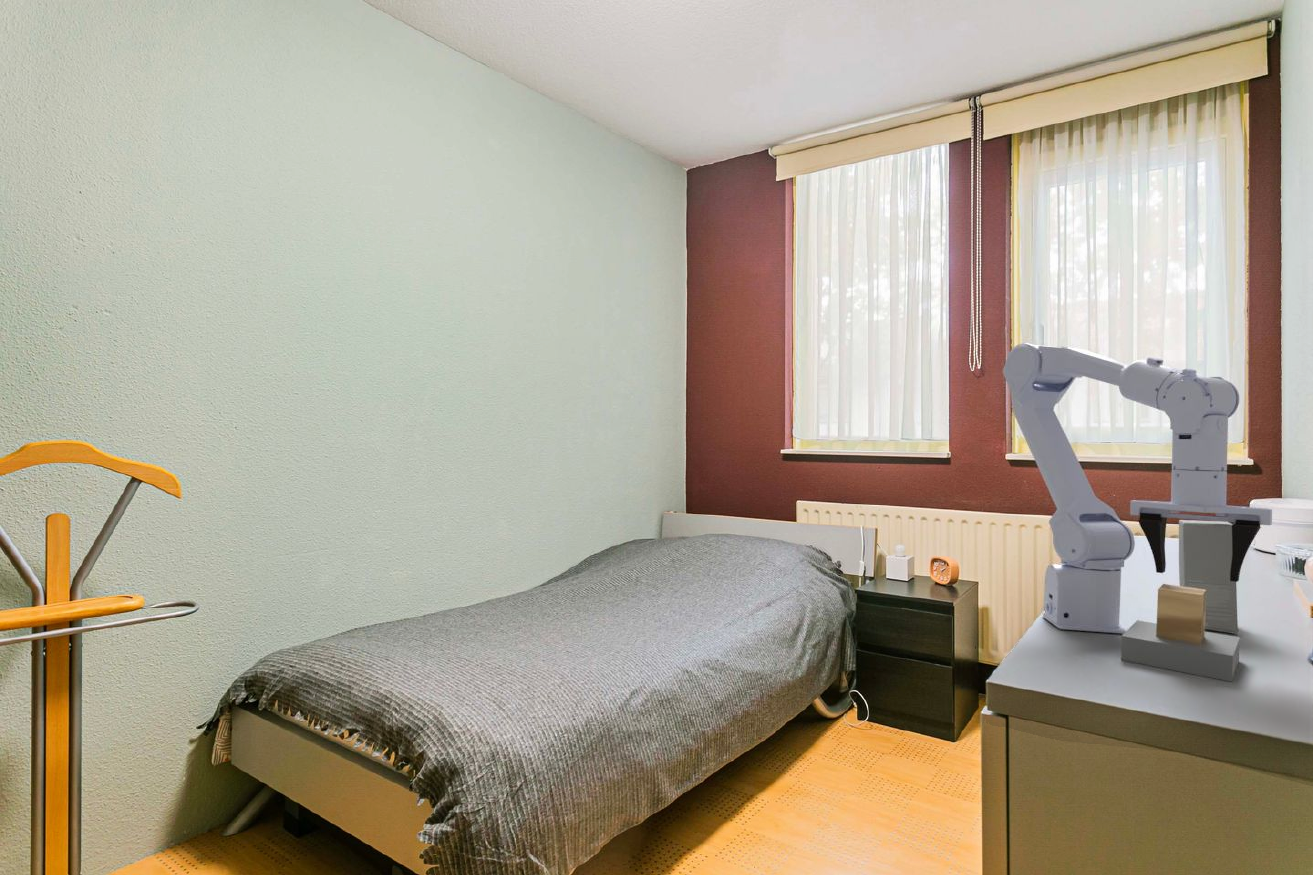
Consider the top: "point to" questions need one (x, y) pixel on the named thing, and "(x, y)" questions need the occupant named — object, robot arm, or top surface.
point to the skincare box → (1209, 570)
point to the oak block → (1181, 613)
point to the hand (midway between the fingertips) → (1196, 576)
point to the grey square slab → (1182, 652)
